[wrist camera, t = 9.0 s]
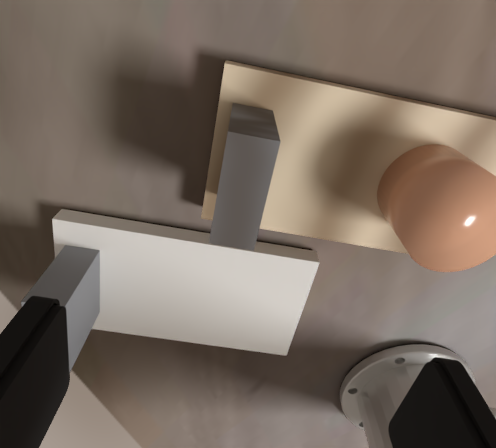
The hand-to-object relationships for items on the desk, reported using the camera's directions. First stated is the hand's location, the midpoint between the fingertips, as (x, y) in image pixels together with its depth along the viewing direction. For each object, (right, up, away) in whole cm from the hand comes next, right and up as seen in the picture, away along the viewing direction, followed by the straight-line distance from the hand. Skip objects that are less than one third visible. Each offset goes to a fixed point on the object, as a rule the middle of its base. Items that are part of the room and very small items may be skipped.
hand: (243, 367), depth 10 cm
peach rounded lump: (+12, +6, +15) cm, 20 cm away
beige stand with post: (+7, +8, +16) cm, 19 cm away
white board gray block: (-5, -1, +21) cm, 21 cm away
